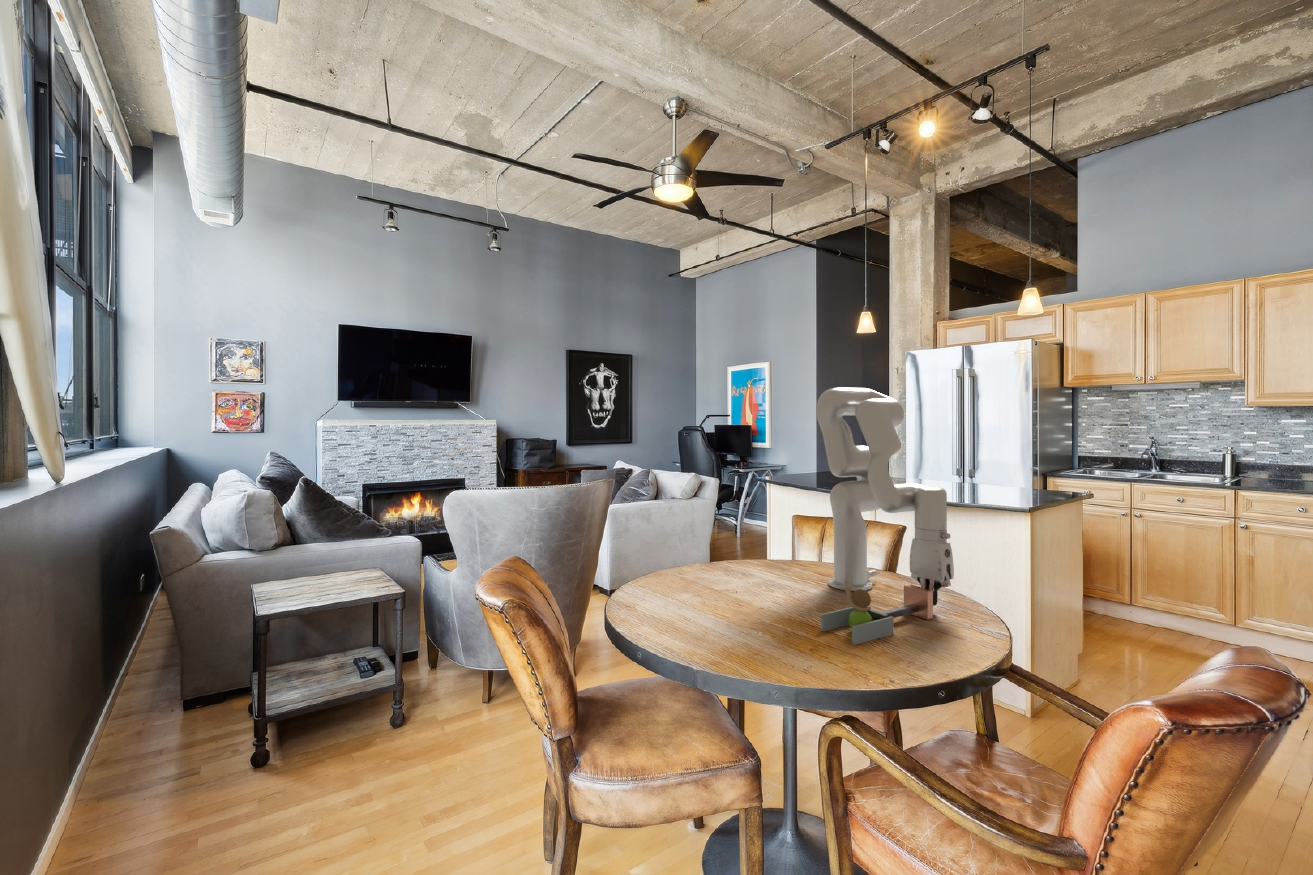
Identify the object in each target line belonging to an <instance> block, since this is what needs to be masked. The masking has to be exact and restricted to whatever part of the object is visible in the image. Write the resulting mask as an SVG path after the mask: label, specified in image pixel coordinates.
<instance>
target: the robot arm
mask: <svg viewBox="0 0 1313 875" xmlns="http://www.w3.org/2000/svg"><path fill="white" fill-rule="evenodd" d="M815 409H816V410H815V413H816V419H817V422H818V425H819V428H820V430H821V433H822V438H823V443H824V447H825V453H826V457H827V458H826V459H827V464H828V468H829V470H830V473H831V474H832V475H833V476H834V477H838V478H853V477H855V478H856V480H850V481H849V480H846V481H842V482H838V483H837V484H835V485H834V486H833V487H832V489H831V490H830V492H829V502H830V506H831V511H832V518H833V520H832V521H833V577H831V578H829V579H828V585H829V586H830V587H832V588H834V589H837V590H841V591H846V589H845V586H846V585H850V586H851V592H854V591H855V590H858V589H863V590H865V591H868V590H871V589H872V588H873V582H872V581H871V580H870V578H872V577H877V575H878V572H877V570H876V569H872V570H869V569H868V534H867V533H868V531H867V529H868V528H867V524H866V522H865V520H864V517H863V515H862V513H863V512H873V511H877V510H880V509H881V510H882V511H883V512H885V513H889V514H896V513H897V514H898V513H904V512H914V537H912V541H911V546H910V553H909V572H910V577H911V578H912V579H914V580H916V581H917V582H918V583H919V585H920V587H922V588H925V589H929V590H932V591H933V607H934V606H937V604H938V591H940V589H941V588H948V587H951V586H952V584H951V580H953V579H954V576H955V570H954V569H955V568H954V557H953V551H952V550H953V549H952V546H951V542H950V541H948V540H950V538H951V534H950V533H948V530H947V529H948V528H947V527H948V523H947V521H948V520H947V519H948V518H947V514H948V506H947V504H948V502H947V501H948V500H947V498H948V497H947V495H948V494H947V491H946V489H944V487H940V486H926V485H923V484H920V483H917V482H915V483H914V482H907V483H893V480H892V478H891V475H890V471H889V462H890V459H891V458H892V457H893V455H895V454H897V453H898V452H899V451H900V450H901V449H902V441H901V440H900V438H899V435H898V433H897V430H896V429H895V427H898V426H899V425H901V424H902V423H903V420H904V416H905V412H904V408H903V406H902V405H901V403H900V402H899V401H898V400H896V399H895V398H893V397H890V396H888V395H885V394H883V393H880V392H877V391H876V390H873V389H871V388H866V387H833V388H828V389H827V390H824V391H823V392H822V393H821V394H820V396H819V398H818V400H817V402H816V408H815ZM843 416H855V418H856V420H857V424H858V426H859V428H860V430H861V434H862V435H863V438H864V440H865V443H866V445H855V442H854V437H853V433H852V430H851V428H850V425H849V424H848V423H847V422H846V420H845V419H844V418H843ZM845 580H848V582H847V584H846V585H845Z"/></svg>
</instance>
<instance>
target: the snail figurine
mask: <svg viewBox="0 0 1313 875" xmlns="http://www.w3.org/2000/svg"><path fill="white" fill-rule="evenodd" d="M847 582H848V580H845V585H846V584H847ZM845 589H846V590H845V594H846V598H847V600H848V603H849V604H850V606H851V607H853V608H855V609H856V610H854V611H853V612H851V614H850V615H849V619H848V621H849V625H848V626H849V627H850V628H851V629H852V626H856V625H860V624H864V623H868V622H872V621H873V620H872V617H871V615H870V614H869V613H868V612H867V611H869V610H870V609H872V607H871V606H870V605H871V602H872V597H871V594H870V593H869V592H868V590H863V589H858V590H855V591H851V586H850V585H846V586H845Z"/></svg>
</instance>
